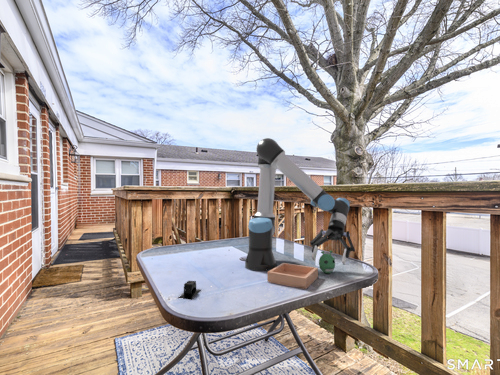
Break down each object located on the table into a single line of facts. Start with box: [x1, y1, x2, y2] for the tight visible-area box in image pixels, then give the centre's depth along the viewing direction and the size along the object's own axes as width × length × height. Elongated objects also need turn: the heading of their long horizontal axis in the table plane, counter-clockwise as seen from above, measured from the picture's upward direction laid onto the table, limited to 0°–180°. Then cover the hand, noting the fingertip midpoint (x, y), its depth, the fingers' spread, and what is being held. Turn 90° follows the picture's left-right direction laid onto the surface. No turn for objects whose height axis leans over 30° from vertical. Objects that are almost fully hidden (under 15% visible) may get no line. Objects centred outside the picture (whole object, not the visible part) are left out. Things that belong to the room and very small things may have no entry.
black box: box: [177, 280, 202, 300], centre depth 89 cm, size 12×7×5 cm, turn 169°
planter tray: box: [266, 262, 319, 290], centre depth 104 cm, size 16×16×4 cm
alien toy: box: [318, 249, 336, 274], centre depth 113 cm, size 7×8×10 cm
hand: (327, 261), depth 112 cm, fingers open, 13 cm apart
